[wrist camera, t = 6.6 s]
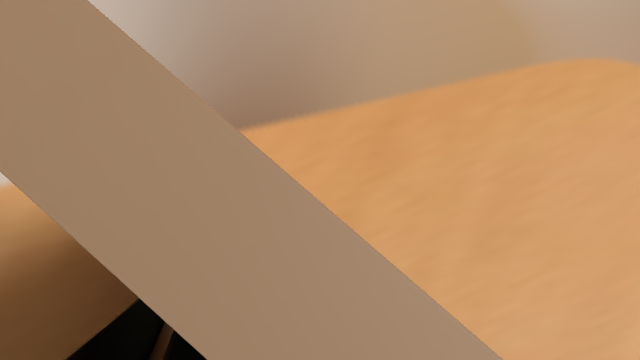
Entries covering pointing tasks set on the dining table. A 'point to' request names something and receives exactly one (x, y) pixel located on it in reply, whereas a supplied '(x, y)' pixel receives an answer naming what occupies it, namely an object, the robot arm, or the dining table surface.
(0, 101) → the gate
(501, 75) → the dining table surface
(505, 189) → the dining table surface
